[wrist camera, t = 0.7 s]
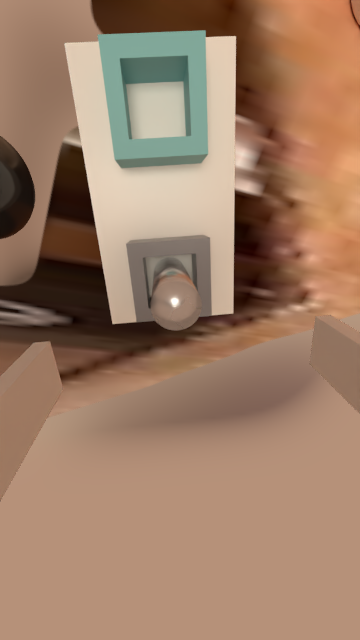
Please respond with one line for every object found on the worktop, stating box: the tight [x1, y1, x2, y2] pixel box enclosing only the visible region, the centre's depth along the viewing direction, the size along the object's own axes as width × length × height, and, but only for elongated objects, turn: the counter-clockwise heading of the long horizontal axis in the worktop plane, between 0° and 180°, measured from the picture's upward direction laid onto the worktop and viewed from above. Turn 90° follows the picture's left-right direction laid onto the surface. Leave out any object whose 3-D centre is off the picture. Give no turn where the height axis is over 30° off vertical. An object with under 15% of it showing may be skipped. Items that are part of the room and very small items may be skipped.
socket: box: [98, 31, 208, 168], centre depth 25 cm, size 9×9×4 cm
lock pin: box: [151, 257, 202, 330], centre depth 27 cm, size 4×4×13 cm
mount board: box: [64, 36, 236, 324], centre depth 28 cm, size 16×28×6 cm, turn 4°
